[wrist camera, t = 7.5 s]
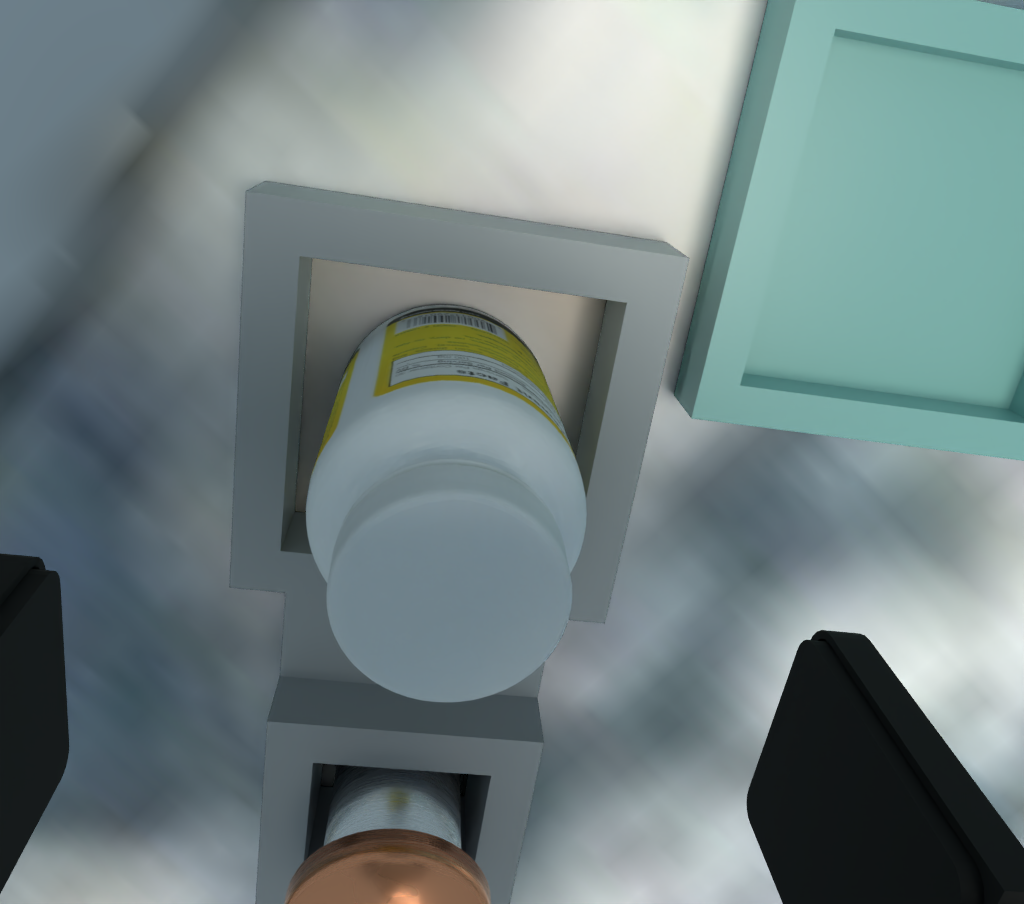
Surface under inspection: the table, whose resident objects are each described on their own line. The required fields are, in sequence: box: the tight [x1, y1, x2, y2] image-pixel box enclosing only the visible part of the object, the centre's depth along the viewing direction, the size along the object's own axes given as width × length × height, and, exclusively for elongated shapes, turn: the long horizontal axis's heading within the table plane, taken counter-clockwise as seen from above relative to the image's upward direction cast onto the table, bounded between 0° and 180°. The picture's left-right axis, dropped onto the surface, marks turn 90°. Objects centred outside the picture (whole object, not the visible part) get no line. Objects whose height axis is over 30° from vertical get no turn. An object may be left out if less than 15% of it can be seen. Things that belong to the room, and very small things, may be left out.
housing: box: [230, 181, 689, 904], centre depth 23 cm, size 19×10×4 cm, turn 171°
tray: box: [674, 0, 1024, 461], centre depth 21 cm, size 10×10×2 cm
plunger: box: [284, 765, 491, 904], centre depth 24 cm, size 5×5×7 cm
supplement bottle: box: [306, 305, 587, 702], centre depth 18 cm, size 5×5×10 cm
